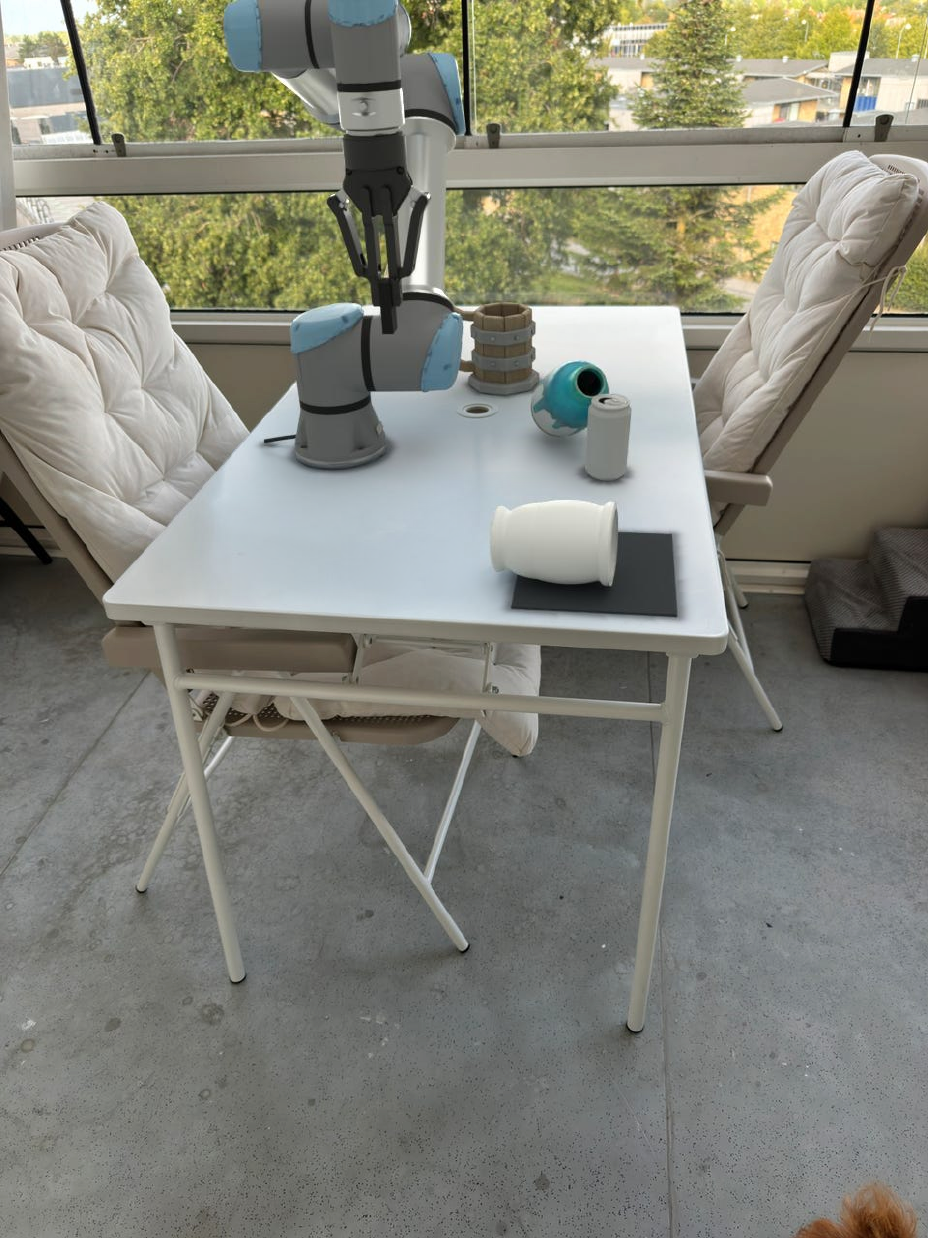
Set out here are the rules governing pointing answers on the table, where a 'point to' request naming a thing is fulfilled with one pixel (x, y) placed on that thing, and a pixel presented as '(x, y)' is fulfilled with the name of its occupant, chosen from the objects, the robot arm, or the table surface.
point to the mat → (614, 583)
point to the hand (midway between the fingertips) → (390, 330)
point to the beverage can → (608, 436)
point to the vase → (567, 397)
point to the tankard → (501, 348)
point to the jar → (557, 541)
